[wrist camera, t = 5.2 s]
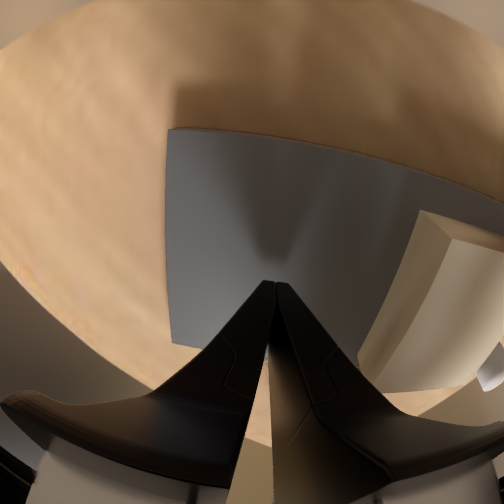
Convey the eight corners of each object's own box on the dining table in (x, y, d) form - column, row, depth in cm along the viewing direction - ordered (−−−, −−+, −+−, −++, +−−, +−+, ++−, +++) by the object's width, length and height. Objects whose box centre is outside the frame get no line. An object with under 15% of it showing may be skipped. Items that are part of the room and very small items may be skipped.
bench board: (537, 220, 8) (584, 258, 5) (469, 350, 13) (493, 398, 9) (178, 127, 9) (118, 143, 5) (177, 328, 13) (152, 395, 9)
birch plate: (514, 239, 8) (542, 265, 6) (450, 354, 12) (464, 385, 10) (419, 209, 8) (452, 238, 6) (357, 354, 12) (365, 393, 10)
